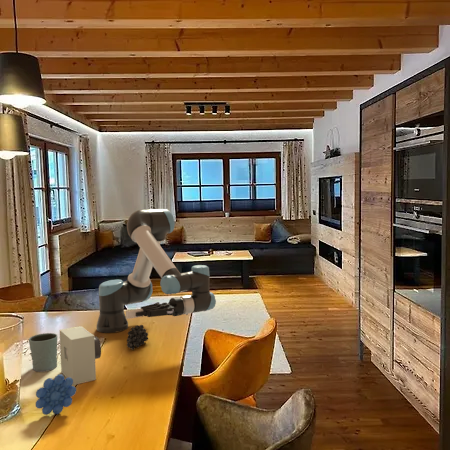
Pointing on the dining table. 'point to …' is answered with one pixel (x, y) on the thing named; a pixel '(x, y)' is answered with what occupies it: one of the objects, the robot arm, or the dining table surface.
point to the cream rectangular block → (78, 354)
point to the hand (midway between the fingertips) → (126, 315)
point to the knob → (97, 348)
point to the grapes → (55, 394)
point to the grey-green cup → (43, 351)
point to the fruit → (136, 337)
